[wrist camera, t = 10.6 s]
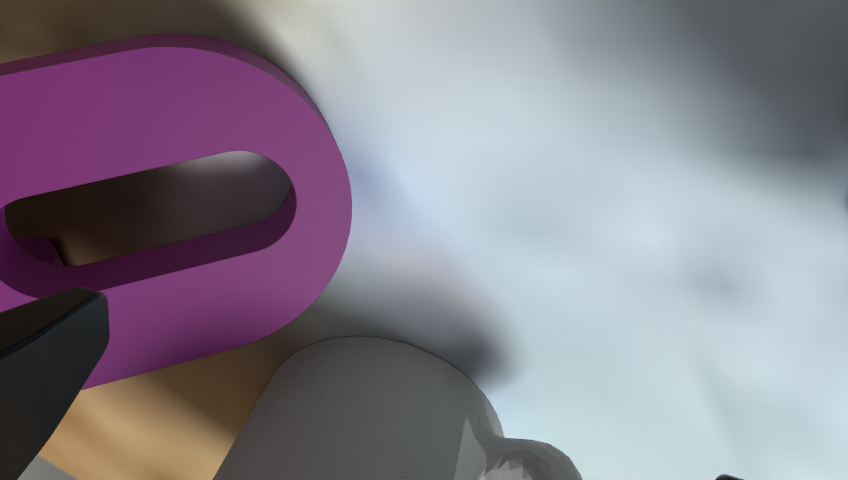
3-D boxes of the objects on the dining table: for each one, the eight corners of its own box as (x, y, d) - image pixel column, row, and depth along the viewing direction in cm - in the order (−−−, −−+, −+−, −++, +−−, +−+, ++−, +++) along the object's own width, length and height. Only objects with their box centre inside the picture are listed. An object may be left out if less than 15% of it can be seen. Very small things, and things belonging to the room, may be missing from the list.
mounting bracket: (288, -17, 25) (-256, 83, 22) (313, 14, 18) (-492, 170, 15) (339, 211, 30) (-109, 319, 27) (377, 311, 22) (-235, 475, 19)
